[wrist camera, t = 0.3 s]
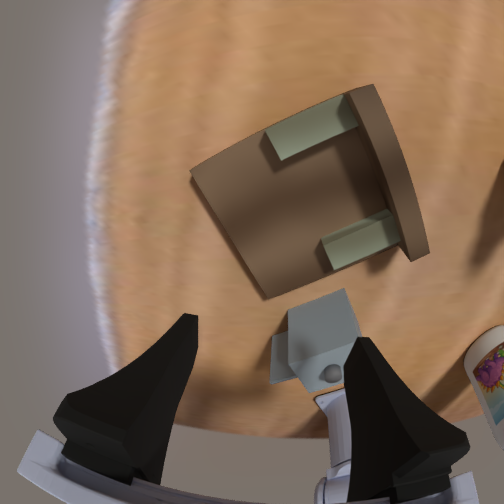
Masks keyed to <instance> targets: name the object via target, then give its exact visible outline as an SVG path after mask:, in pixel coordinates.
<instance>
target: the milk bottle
mask: <svg viewBox="0 0 504 504" xmlns="http://www.w3.org/2000/svg"><path fill="white" fill-rule="evenodd" d="M464 368H465V370H466V373H467V375H468V377H469V379H470V381H471V384H472V386H473V388H474V390H475V393H476V395H477V397H478V399H479V402H480V404H481V406H482V409H483V411H484V414H485V416H486V418H487V421H488V424H489V426H490V428H491V430H492V433H493V435H494V438H495V440H496V441H497V443H498V444H499V446H500V447H501V448H502V449H503V450H504V325H499V326H496V327H493V328H491V329H489V330H488V331H486V332H485V333H484V334H483V335H481V336H480V337H479V338H478V339H477V340H476V341H475V342H474V343H473V344H472V346H471V347H470V348H469V350H468V352H467V353H466V356H465V358H464Z"/></svg>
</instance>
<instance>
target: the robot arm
mask: <svg viewBox="0 0 504 504" xmlns="http://www.w3.org/2000/svg"><path fill="white" fill-rule="evenodd" d="M197 350H198V315H192V314H187V313H184V314H183V315H182V316H181V317H180V318H179V319H178V320H177V321H176V323H175V324H174V325H173V326H172V327H171V328H170V329H169V330H168V331H167V332H166V333H165V334H164V335H163V336H162V337H161V338H160V339H159V340H158V341H157V342H156V343H155V344H154V345H152V346H151V347H150V348H149V349H148V350H147V351H145V352H144V353H143V354H142V355H141V356H139V357H138V358H137V359H135V360H134V361H133V362H131V363H130V364H128V365H127V366H126V367H124V368H122V369H121V370H119V371H118V372H116V373H114V374H113V375H111V376H109V377H107V378H105V379H103V380H101V381H99V382H97V383H95V384H93V385H91V386H89V387H86V388H83V389H81V390H78V391H75V392H72V393H69V394H67V396H66V397H65V398H64V400H63V401H62V402H61V404H60V406H59V407H58V409H57V411H56V413H55V415H54V417H53V421H54V423H55V425H56V426H57V428H58V429H59V430H60V431H61V433H62V434H63V435H64V436H65V437H66V438H67V441H66V443H65V445H64V444H63V443H62V442H60V441H59V440H57V439H55V438H54V437H52V436H50V435H48V434H47V433H45V432H43V431H41V430H37V432H36V434H35V435H34V437H33V439H32V441H31V443H30V445H29V447H28V449H27V451H26V453H25V455H24V457H23V459H22V461H21V463H20V465H19V467H18V469H17V472H18V473H19V474H21V475H22V476H24V477H25V478H26V479H28V480H29V481H31V482H32V483H34V484H35V485H37V486H38V487H40V488H41V489H43V490H45V491H46V492H48V493H50V494H51V495H53V496H55V497H57V498H59V499H60V500H62V501H64V502H66V503H67V504H265V503H252V502H243V501H235V500H227V499H221V498H215V497H209V496H203V495H198V494H193V493H188V492H184V491H180V490H176V489H172V488H168V487H164V486H161V485H160V483H161V477H162V471H163V466H164V461H165V456H166V451H167V447H168V442H169V438H170V433H171V429H172V425H173V421H174V418H175V414H176V410H177V407H178V404H179V402H180V399H181V397H182V394H183V392H184V389H185V386H186V384H187V381H188V379H189V376H190V374H191V371H192V368H193V365H194V362H195V358H196V354H197ZM343 371H344V389H341V390H338V391H334V392H331V393H328V394H324V395H321V396H318V397H316V398H315V400H316V403H317V404H318V405H319V407H320V408H321V409H322V411H323V412H324V413H325V415H326V416H327V417H328V429H329V443H330V460H331V468H330V469H327V470H326V475H327V477H323V478H321V480H320V481H319V483H318V484H317V486H316V488H315V493H314V504H479V501H478V496H477V491H476V487H475V482H474V479H473V474H472V471H468V472H465V473H463V474H460V475H457V476H454V477H452V478H450V479H449V475H448V474H450V473H451V472H452V470H451V465H453V464H454V463H455V462H457V461H458V460H459V459H461V458H462V457H463V456H464V455H466V454H467V452H468V451H469V450H470V445H469V441H468V438H467V435H466V432H464V431H462V430H461V429H459V428H457V427H455V426H454V425H452V424H450V423H449V422H447V421H446V420H444V419H443V418H441V417H440V416H439V415H437V414H436V413H435V412H433V411H432V410H431V409H430V408H429V407H427V406H426V405H425V404H424V403H423V402H422V401H421V400H420V399H419V398H418V397H417V396H416V395H415V394H414V393H413V392H412V391H411V390H410V389H409V388H408V387H407V386H406V385H405V383H404V382H403V381H402V380H401V379H400V378H399V376H398V375H397V374H396V373H395V371H394V370H393V369H392V367H391V366H390V365H389V364H388V362H387V361H386V359H385V358H384V357H383V355H382V354H381V353H380V351H379V350H378V348H377V347H376V346H375V344H374V343H373V342H372V340H371V339H370V338H369V337H357V338H356V341H355V343H354V345H353V347H352V349H351V351H350V353H349V355H348V357H347V359H346V361H345V363H344V365H343Z"/></svg>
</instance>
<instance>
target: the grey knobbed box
mask: <svg viewBox="0 0 504 504" xmlns="http://www.w3.org/2000/svg"><path fill="white" fill-rule="evenodd" d="M357 337H362V334H361V331H360V327H359V324H358V321H357V318H356V316H355V313H354V311H353V308H352V306H351V303H350V301H349V298H348V296H347V293H346V291H345V289H344V288H343V289H340V290H338V291H335V292H333V293H330V294H328V295H325V296H323V297H320V298H318V299H315V300H313V301H310V302H307V303H305V304H302V305H300V306H297V307H294V308H292V309H289V310H288V331H285V332H283V333H280V334H277V335H274V336H272V349H271V366H270V384H275V383H279V382H283V381H286V380H290V379H293V378H297V377H298V378H299V380H300V381H301V382H302V384H303V385H304V387H305V388H306V389H307V391H308V392H309V393H311V392H315V391H318V390H322V389H325V388H328V387H331V386H335V385H338V384H341V383H344V371H343V365H344V363H345V361H346V359H347V357H348V355H349V353H350V351H351V349H352V347H353V345H354V343H355V341H356V338H357Z"/></svg>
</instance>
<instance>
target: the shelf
mask: <svg viewBox="0 0 504 504" xmlns="http://www.w3.org/2000/svg"><path fill="white" fill-rule="evenodd" d="M189 171H190V173H191V174H192V176H193V178H194V179H195V181H196V183H197V184H198V186H199V188H200V189H201V191H202V192H203V194H204V196H205V197H206V199H207V201H208V202H209V204H210V206H211V207H212V209H213V211H214V212H215V214H216V215H217V217H218V219H219V220H220V222H221V224H222V225H223V227H224V229H225V230H226V232H227V233H228V235H229V237H230V238H231V240H232V242H233V243H234V245H235V246H236V248H237V250H238V251H239V253H240V255H241V256H242V258H243V259H244V261H245V263H246V264H247V266H248V267H249V269H250V271H251V272H252V274H253V275H254V277H255V279H256V280H257V282H258V284H259V285H260V287H261V288H262V290H263V292H264V293H265V295H266V296H267V298H268V299H271V298H273V297H276V296H278V295H281V294H283V293H286V292H289V291H291V290H294V289H296V288H299V287H301V286H304V285H306V284H309V283H311V282H314V281H316V280H319V279H321V278H323V277H326V276H328V275H331V274H333V273H335V272H338V271H340V270H343V269H345V268H347V267H350V266H352V265H354V264H357V263H359V262H361V261H364V260H366V259H368V258H370V257H373V256H375V255H377V254H379V253H382V252H384V251H386V250H388V249H391V248H393V247H395V246H397V245H399V247H400V248H401V249H402V251H403V252H404V253H405V255H406V256H407V257H408V259H409V260H410V262H412V261H415V260H417V259H419V258H421V257H423V256H425V255H427V254H429V253H430V251H429V246H428V241H427V236H426V232H425V228H424V224H423V219H422V216H421V212H420V208H419V204H418V201H417V197H416V193H415V190H414V187H413V183H412V180H411V177H410V174H409V171H408V168H407V165H406V162H405V159H404V156H403V153H402V150H401V148H400V145H399V142H398V140H397V137H396V135H395V132H394V129H393V127H392V125H391V122H390V120H389V117H388V115H387V113H386V110H385V108H384V106H383V104H382V101H381V99H380V97H379V95H378V93H377V91H376V88H375V86H374V84H371V85H367V86H363V87H359V88H355V89H353V90H350V91H348V92H345V93H343V94H340V95H338V96H335V97H333V98H330V99H328V100H326V101H323V102H321V103H319V104H316V105H314V106H312V107H309V108H307V109H305V110H303V111H301V112H298V113H296V114H294V115H292V116H290V117H288V118H285V119H283V120H281V121H279V122H277V123H275V124H273V125H271V126H269V127H267V128H265V129H263V130H261V131H259V132H257V133H255V134H253V135H251V136H249V137H247V138H245V139H244V140H242V141H240V142H238V143H236V144H234V145H232V146H230V147H229V148H227V149H225V150H223V151H221V152H220V153H218V154H216V155H214V156H212V157H211V158H209V159H207V160H205V161H204V162H202V163H200V164H199V165H197V166H195V167H194V168H192V169H191V170H189Z"/></svg>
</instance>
